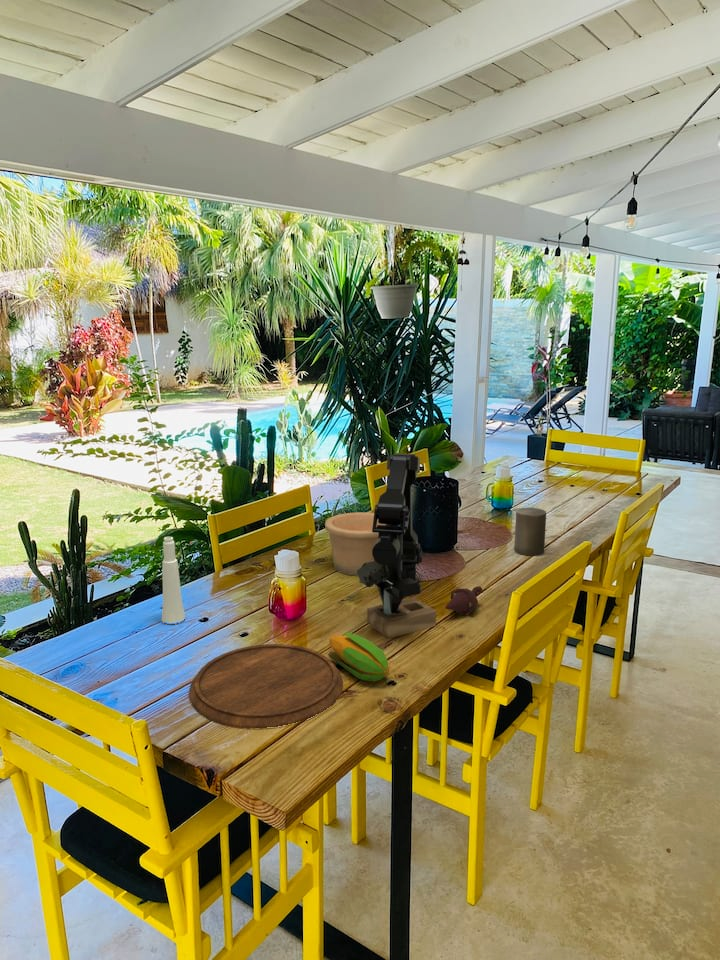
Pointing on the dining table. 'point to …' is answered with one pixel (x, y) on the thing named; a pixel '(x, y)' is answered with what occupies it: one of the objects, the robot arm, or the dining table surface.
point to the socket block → (402, 618)
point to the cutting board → (265, 686)
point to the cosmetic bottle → (171, 585)
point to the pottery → (351, 540)
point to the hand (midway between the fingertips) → (389, 610)
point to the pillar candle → (530, 531)
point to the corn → (360, 656)
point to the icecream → (464, 600)
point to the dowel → (387, 604)
